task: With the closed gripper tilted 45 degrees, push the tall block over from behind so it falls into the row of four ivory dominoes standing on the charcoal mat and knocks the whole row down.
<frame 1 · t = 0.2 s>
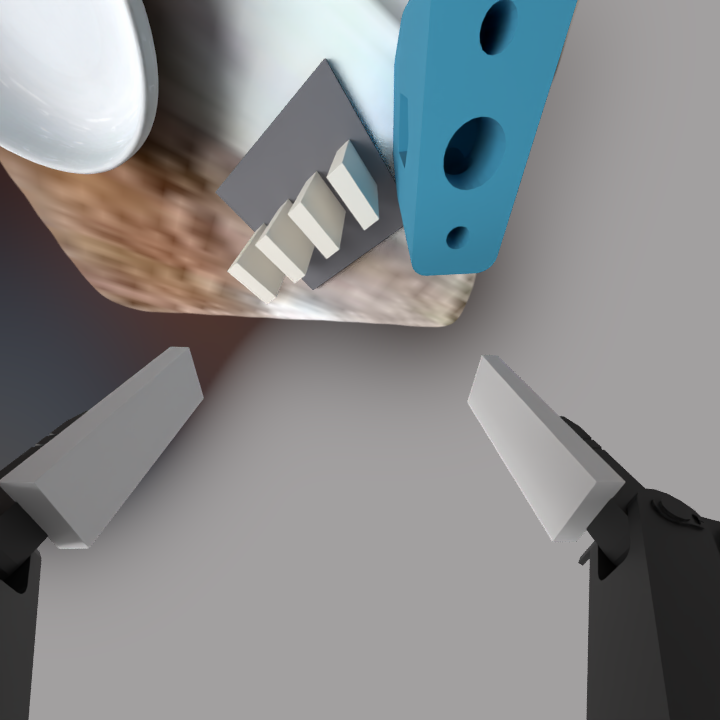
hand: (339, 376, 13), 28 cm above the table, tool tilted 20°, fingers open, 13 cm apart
domino 3: (299, 221, 33), point 1 cm above the table, touching domino mat
domino 2: (326, 196, 31), point 1 cm above the table, touching domino mat
domino 1: (357, 168, 29), point 1 cm above the table, touching domino mat
domino 4: (275, 243, 35), point 1 cm above the table, touching domino mat
serving bowl: (49, 1, 22), on the table
block: (419, 110, 26), on the table
domino mat: (318, 203, 32), on the table
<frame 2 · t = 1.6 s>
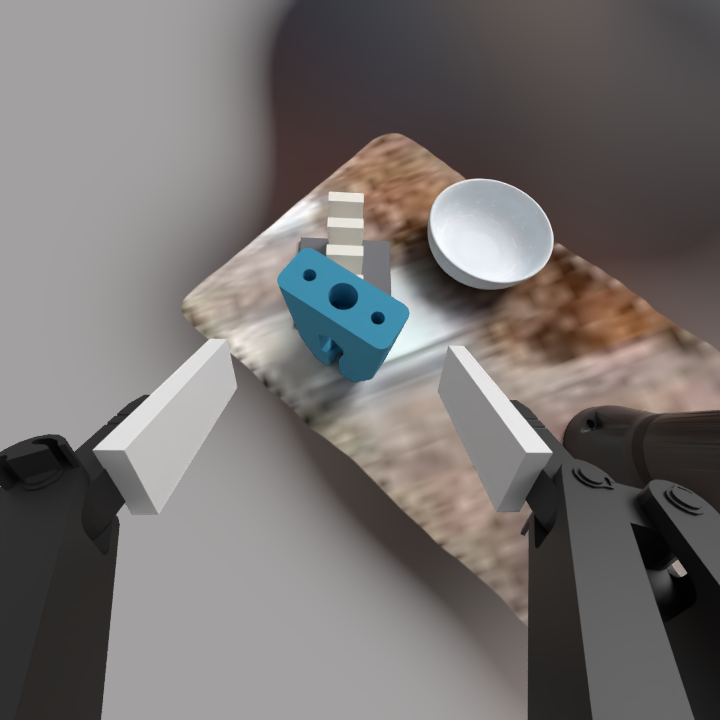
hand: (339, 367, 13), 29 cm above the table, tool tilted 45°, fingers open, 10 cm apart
domino 3: (345, 265, 47), point 1 cm above the table, touching domino mat
domino 2: (344, 288, 46), point 1 cm above the table, touching domino mat
domino 4: (345, 244, 49), point 1 cm above the table, touching domino mat
serving bowl: (472, 254, 51), on the table
block: (343, 357, 44), on the table
domino mat: (344, 283, 47), on the table
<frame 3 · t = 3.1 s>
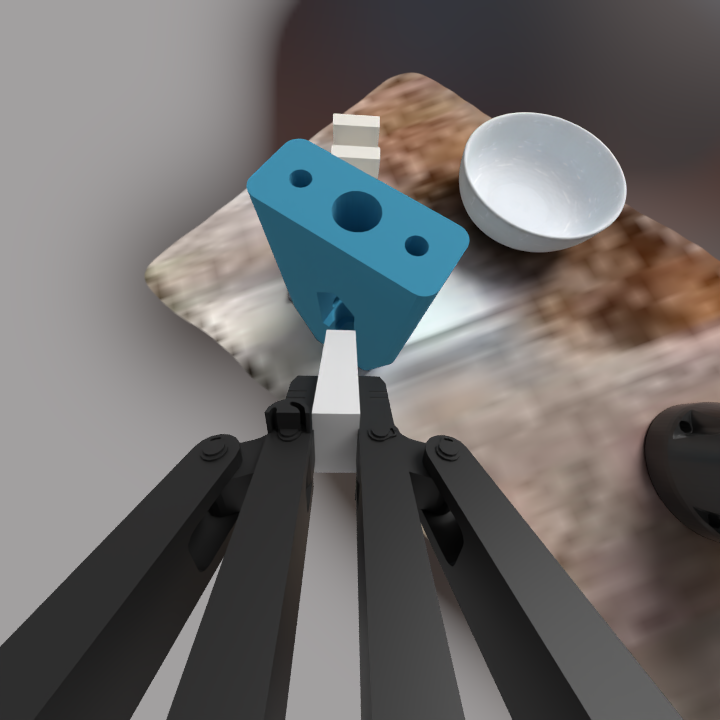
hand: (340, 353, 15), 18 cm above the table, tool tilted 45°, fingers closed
domino 3: (353, 224, 37), point 1 cm above the table, touching domino mat
domino 4: (353, 198, 39), point 1 cm above the table, touching domino mat
serving bowl: (512, 212, 41), on the table
block: (351, 339, 34), on the table
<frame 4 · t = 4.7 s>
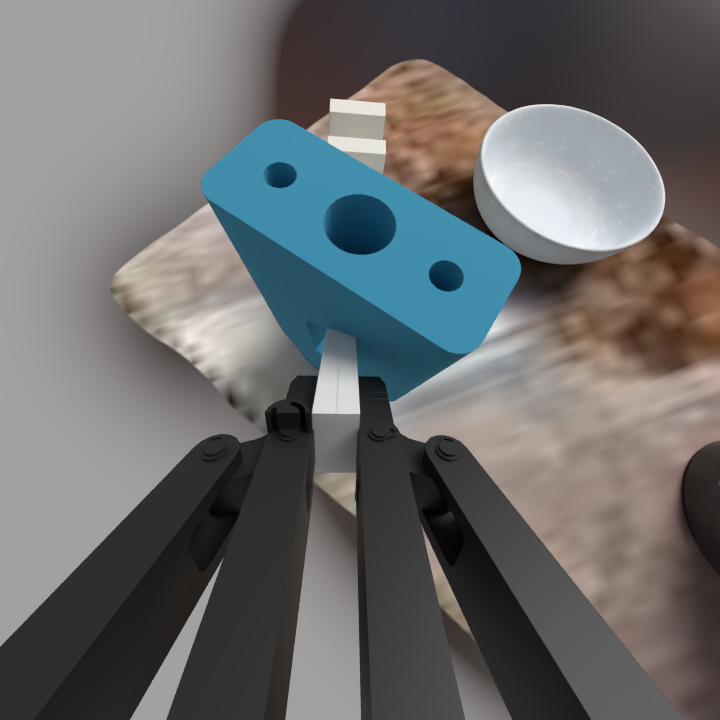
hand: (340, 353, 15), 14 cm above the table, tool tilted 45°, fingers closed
domino 3: (352, 229, 33), point 1 cm above the table, touching domino mat
domino 4: (353, 199, 34), point 1 cm above the table, touching domino mat
serving bowl: (530, 218, 36), on the table
block: (348, 362, 30), on the table, touching gripper
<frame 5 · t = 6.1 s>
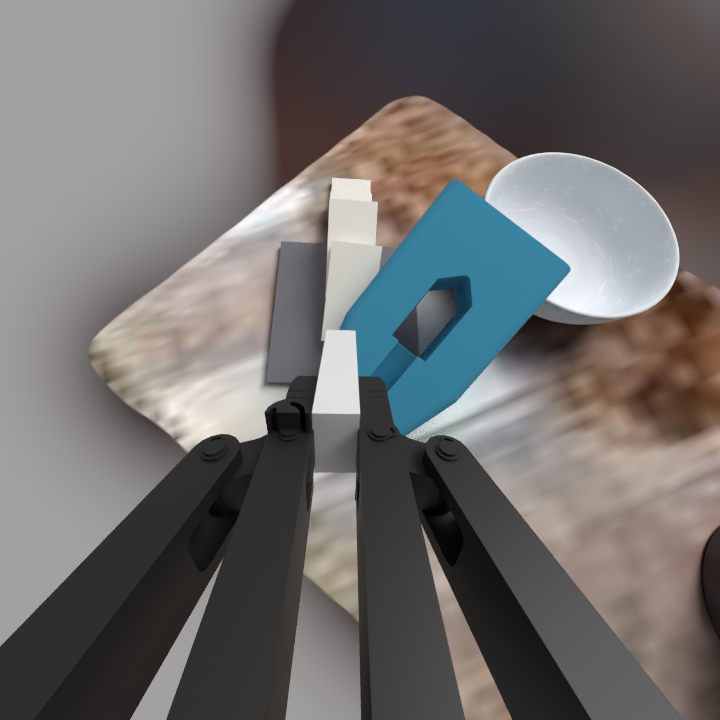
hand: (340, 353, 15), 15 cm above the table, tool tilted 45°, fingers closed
domino 3: (348, 267, 31), point 2 cm above the table, tilted 90°, touching domino mat, domino 2
domino 2: (348, 299, 30), point 2 cm above the table, tilted 69°, touching domino 1, domino 3
domino 1: (345, 343, 28), point 2 cm above the table, tilted 69°, touching domino mat, domino 2
domino 4: (349, 248, 33), on the table, tilted 90°
serving bowl: (535, 265, 35), on the table, touching block
block: (353, 411, 25), point 3 cm above the table, touching serving bowl
domino mat: (346, 312, 31), on the table
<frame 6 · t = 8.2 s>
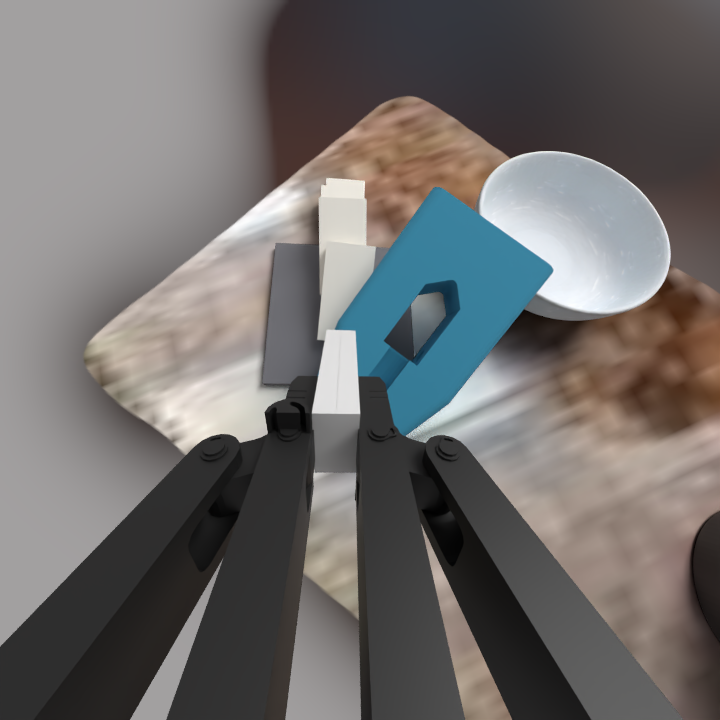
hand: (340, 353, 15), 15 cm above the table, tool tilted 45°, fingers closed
domino 3: (342, 260, 31), point 2 cm above the table, tilted 90°, touching domino mat, domino 2, domino 4
domino 2: (342, 295, 30), point 2 cm above the table, tilted 69°, touching domino mat, domino 3
domino 1: (341, 342, 29), point 2 cm above the table, tilted 71°, touching block, domino mat
domino 4: (342, 248, 34), on the table, tilted 90°, touching domino 3
serving bowl: (530, 263, 35), on the table
block: (349, 417, 26), point 3 cm above the table, touching domino 1
domino mat: (341, 312, 31), on the table
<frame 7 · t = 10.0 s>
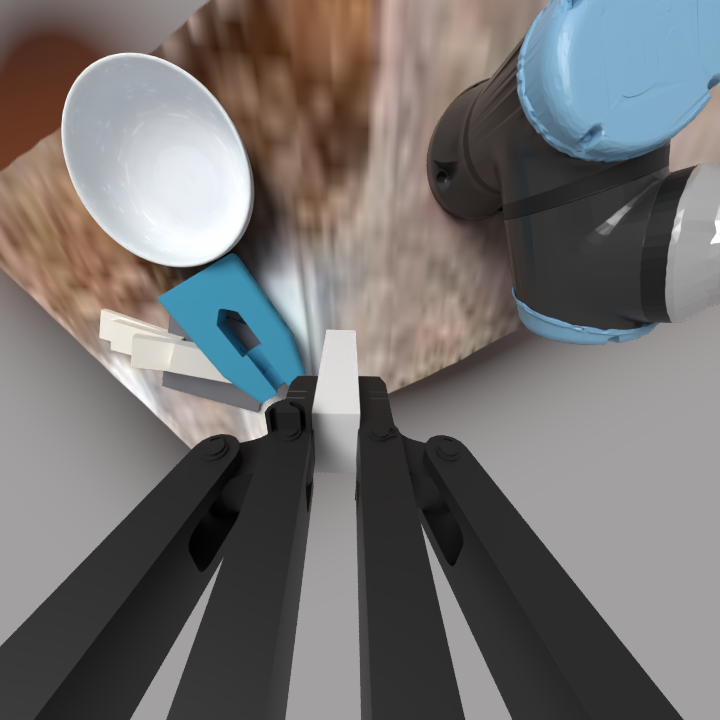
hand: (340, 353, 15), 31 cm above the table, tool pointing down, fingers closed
domino 3: (180, 352, 45), point 2 cm above the table, tilted 90°, touching domino mat, domino 2, domino 4
domino 2: (207, 360, 45), point 2 cm above the table, tilted 71°, touching domino 1, domino 3
domino 1: (240, 370, 46), point 2 cm above the table, tilted 71°, touching block, domino mat, domino 2
domino 4: (168, 344, 46), on the table, tilted 90°, touching domino 3
serving bowl: (191, 186, 38), on the table
block: (284, 385, 45), point 4 cm above the table, touching domino mat, domino 1
domino mat: (220, 359, 47), on the table
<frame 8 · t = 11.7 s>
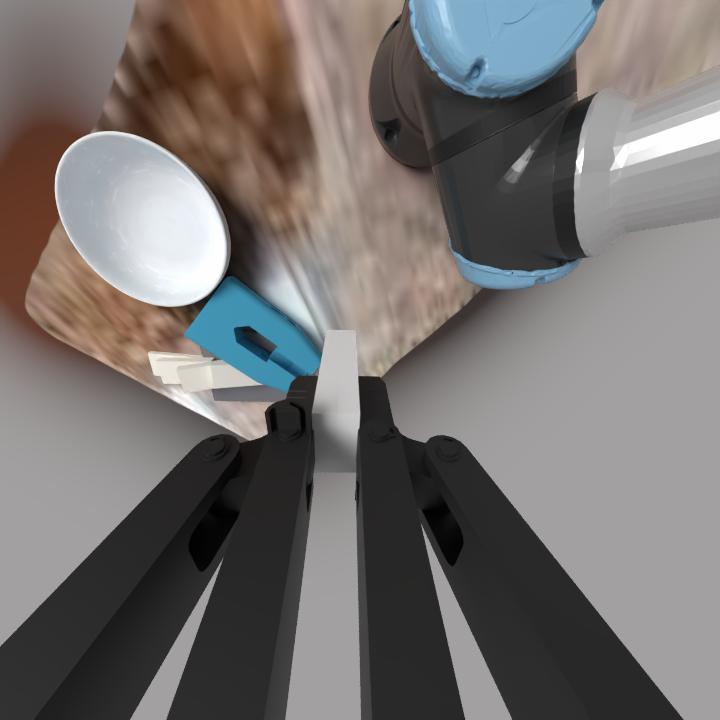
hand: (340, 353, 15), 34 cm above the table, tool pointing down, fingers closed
domino 3: (215, 370, 52), point 2 cm above the table, tilted 89°, touching domino mat, domino 2, domino 4
domino 2: (240, 370, 53), point 2 cm above the table, tilted 70°, touching domino mat, domino 3
domino 1: (269, 371, 53), point 2 cm above the table, tilted 72°, touching block, domino mat
domino 4: (206, 367, 54), on the table, tilted 90°, touching domino 3
serving bowl: (174, 228, 42), on the table
block: (309, 375, 51), point 4 cm above the table, touching domino mat, domino 1
domino mat: (251, 367, 54), on the table
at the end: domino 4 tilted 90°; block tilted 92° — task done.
